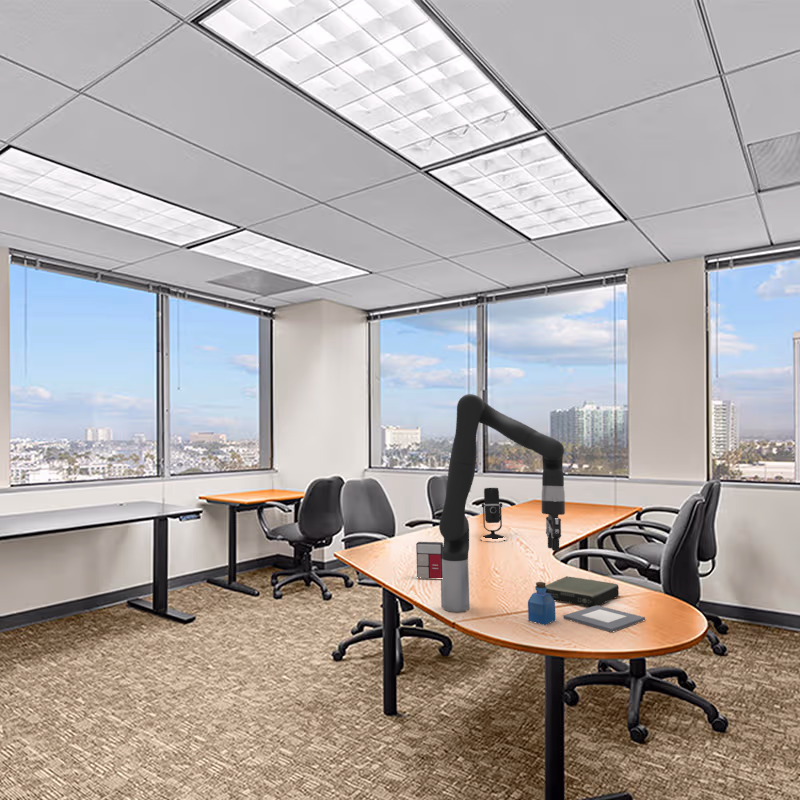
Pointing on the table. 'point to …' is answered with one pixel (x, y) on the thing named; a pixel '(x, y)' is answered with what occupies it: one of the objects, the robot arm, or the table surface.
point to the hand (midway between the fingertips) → (553, 549)
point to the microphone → (492, 511)
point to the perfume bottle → (541, 605)
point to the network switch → (582, 591)
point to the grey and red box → (429, 559)
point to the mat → (604, 618)
